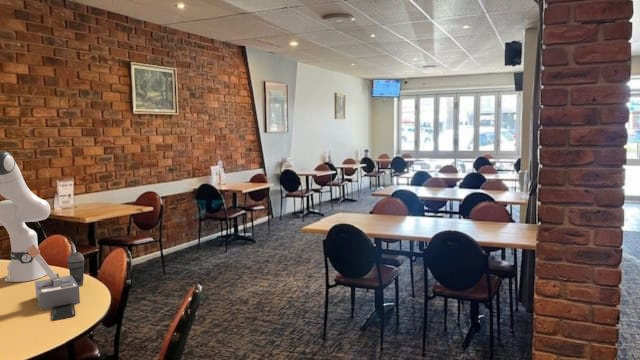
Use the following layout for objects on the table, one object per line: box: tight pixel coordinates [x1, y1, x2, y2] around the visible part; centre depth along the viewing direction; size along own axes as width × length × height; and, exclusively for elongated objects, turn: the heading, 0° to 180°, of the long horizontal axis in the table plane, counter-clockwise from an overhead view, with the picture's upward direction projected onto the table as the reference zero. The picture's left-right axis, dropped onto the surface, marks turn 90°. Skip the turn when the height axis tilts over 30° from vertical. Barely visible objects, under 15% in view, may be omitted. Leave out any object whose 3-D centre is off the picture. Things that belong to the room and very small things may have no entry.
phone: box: [51, 303, 77, 321], centre depth 183 cm, size 8×1×15 cm
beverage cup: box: [66, 242, 85, 287], centre depth 217 cm, size 7×7×20 cm
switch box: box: [34, 272, 81, 311], centre depth 198 cm, size 20×14×10 cm
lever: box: [27, 245, 58, 281], centre depth 195 cm, size 8×3×18 cm, turn 35°
